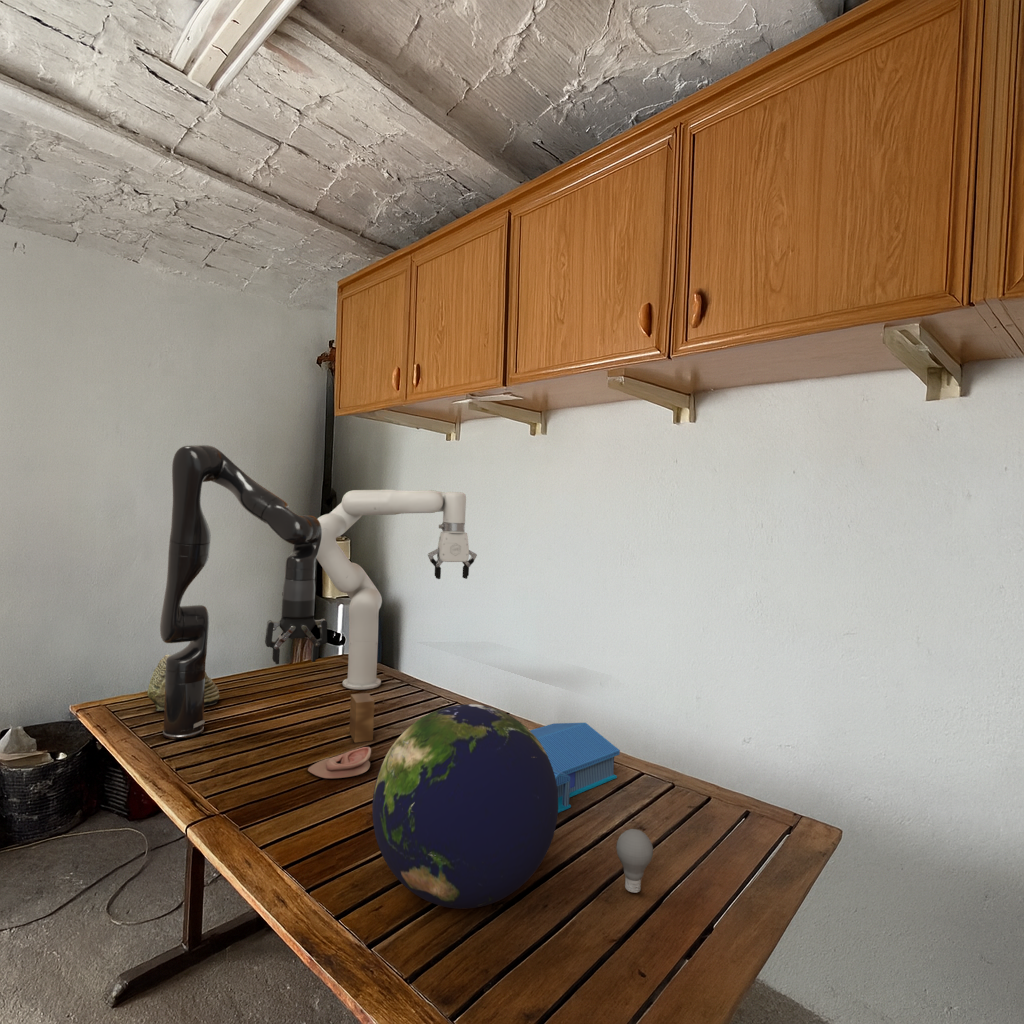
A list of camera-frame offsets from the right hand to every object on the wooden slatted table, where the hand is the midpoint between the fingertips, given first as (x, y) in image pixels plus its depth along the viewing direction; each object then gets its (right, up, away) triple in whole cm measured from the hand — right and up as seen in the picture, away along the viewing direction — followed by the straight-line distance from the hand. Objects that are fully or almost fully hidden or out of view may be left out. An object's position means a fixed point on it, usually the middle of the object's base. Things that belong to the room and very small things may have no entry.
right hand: (451, 578), depth 216 cm
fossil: (-75, -34, -31) cm, 88 cm away
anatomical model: (-20, -37, -68) cm, 80 cm away
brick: (-20, -37, -48) cm, 63 cm away
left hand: (-33, -14, -60) cm, 70 cm away
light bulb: (+41, -41, -110) cm, 124 cm away
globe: (+12, -40, -112) cm, 120 cm away
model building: (+25, -39, -73) cm, 87 cm away
